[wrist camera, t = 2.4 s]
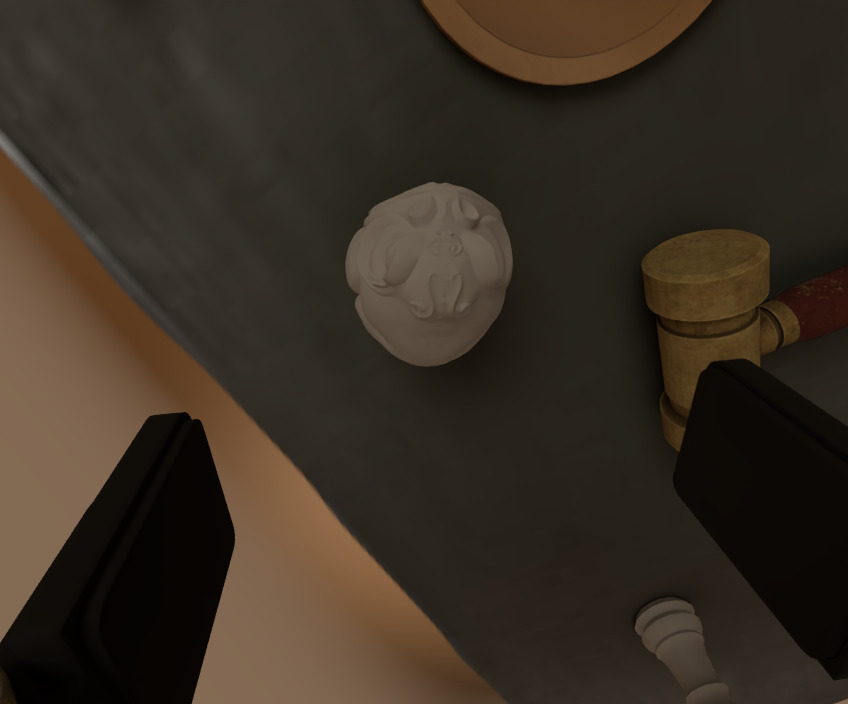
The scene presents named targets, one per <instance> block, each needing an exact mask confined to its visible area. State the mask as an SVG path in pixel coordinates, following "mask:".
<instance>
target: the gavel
mask: <svg viewBox="0 0 848 704" xmlns="http://www.w3.org/2000/svg"><path fill="white" fill-rule="evenodd" d="M641 265H642V273H643V281H644V288H645V296H646V303H647V305H648V307H649V308H650V309H651V310H652V311H653V312H654V313H656V314H657V317H656V322H657V330H658V338H659V346H660V354H661V362H662V370H663V378H664V386H665V391H664V392H663V394H662V395H661V398H660V409H661V416H662V424H663V432H664V435H665V437H666V440H667V441H668V442H669V443H670V445H671V446H672V447H674V448H675V449H676V450H677V451H680V447H681V444H682V440H683V436H684V432H685V428H686V424H687V420H688V416H689V412H690V408H691V405H692V401H693V397H694V393H695V389H696V385H697V381H698V377H699V375H700V373H701V372H702V371H703V370H705V369H706V368H707V366H708V365H709V364H710V363H711V362H713V361H719V360H730V359H740V358H742V359H747V360H749V361H751V362H753V363H754V364H756V365H757V366H759V367H760V356H762V355H765V354H768V353H770V352H772V351H774V350H775V349H778V348H781V347H783V346H786V345H788V344H791V343H794V342H799V341H804V340H808V339H813V338H817V337H821V336H824V335H826V334H829V333H832V332H834V331H837V330H839V329H842V328H844V327H847V326H848V265H846V266H844V267H841V268H839V269H836V270H834V271H831V272H829V273H826V274H824V275H821V276H819V277H816V278H814V279H811V280H809V281H806V282H804V283H801V284H799V285H796V286H794V287H792V288H790V289H788V290H786V291H785V292H783V293H781V294H780V295H778V296H777V297H775V298H773V299H772V300H770V301H768V302H766V303H763V304H761V305H759V304H760V303H762V302H763V301H764V300H765V298H766V297H767V295H768V293H769V271H770V246H769V244H768V243H767V241H765V240H764V239H763V238H761V237H759V236H757V235H754V234H751V233H748V232H744V231H739V230H730V229H716V230H705V231H698V232H693V233H688V234H684V235H681V236H678V237H675V238H672V239H670V240H667V241H665V242H663V243H661V244H660V245H658V246H656V247H655V248H654V249H652V250H651V251H650V252H649V253H647V254H646V256H645V257H644V258H643V260H642V263H641Z"/></svg>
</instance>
